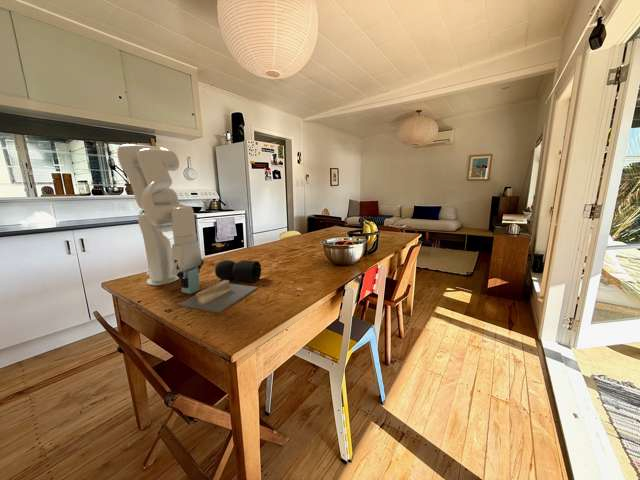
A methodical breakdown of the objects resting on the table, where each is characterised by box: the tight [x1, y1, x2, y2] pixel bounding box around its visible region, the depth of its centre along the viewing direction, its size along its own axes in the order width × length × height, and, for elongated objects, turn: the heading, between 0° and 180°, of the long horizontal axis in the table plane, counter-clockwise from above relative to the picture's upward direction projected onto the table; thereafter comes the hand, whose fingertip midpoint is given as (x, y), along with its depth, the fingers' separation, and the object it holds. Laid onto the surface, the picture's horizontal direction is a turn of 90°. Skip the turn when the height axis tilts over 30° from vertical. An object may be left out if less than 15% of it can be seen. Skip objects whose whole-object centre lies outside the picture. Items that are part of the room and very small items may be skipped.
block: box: [180, 268, 201, 295], centre depth 98 cm, size 4×4×9 cm
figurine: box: [214, 259, 262, 283], centre depth 113 cm, size 9×9×20 cm
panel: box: [178, 283, 259, 314], centre depth 97 cm, size 18×22×1 cm
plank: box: [195, 280, 231, 305], centre depth 95 cm, size 2×14×4 cm, turn 160°
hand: (190, 284), depth 99 cm, fingers closed on block, 4 cm apart
